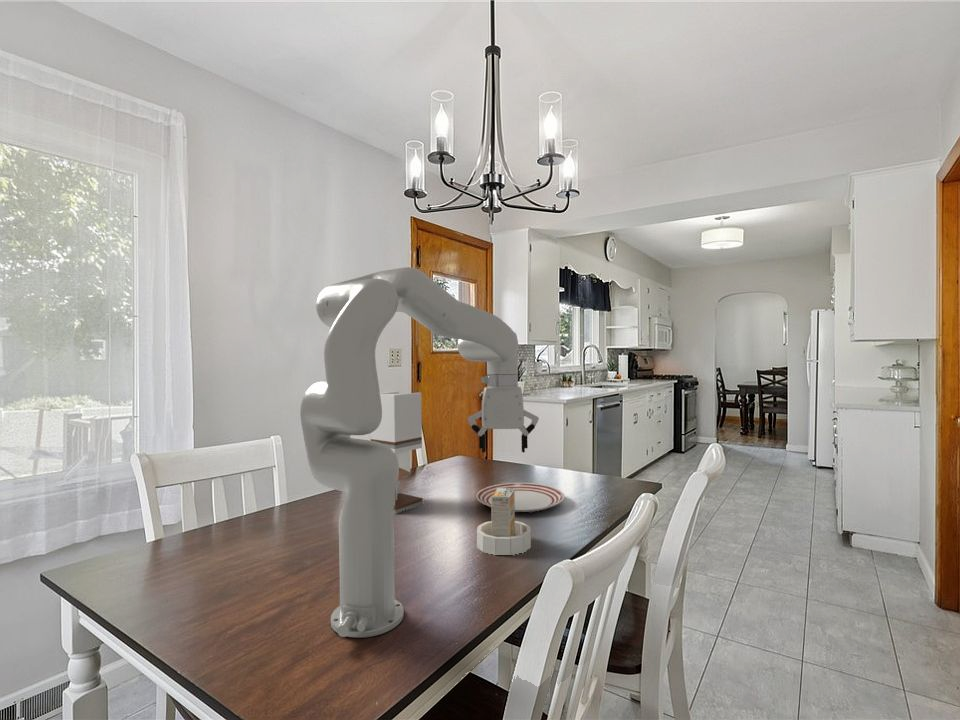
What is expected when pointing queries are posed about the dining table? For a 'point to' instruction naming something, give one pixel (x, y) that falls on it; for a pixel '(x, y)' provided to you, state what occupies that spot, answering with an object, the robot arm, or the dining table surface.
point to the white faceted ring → (504, 540)
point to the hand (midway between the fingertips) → (503, 451)
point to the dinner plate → (525, 496)
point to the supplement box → (503, 512)
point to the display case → (401, 437)
